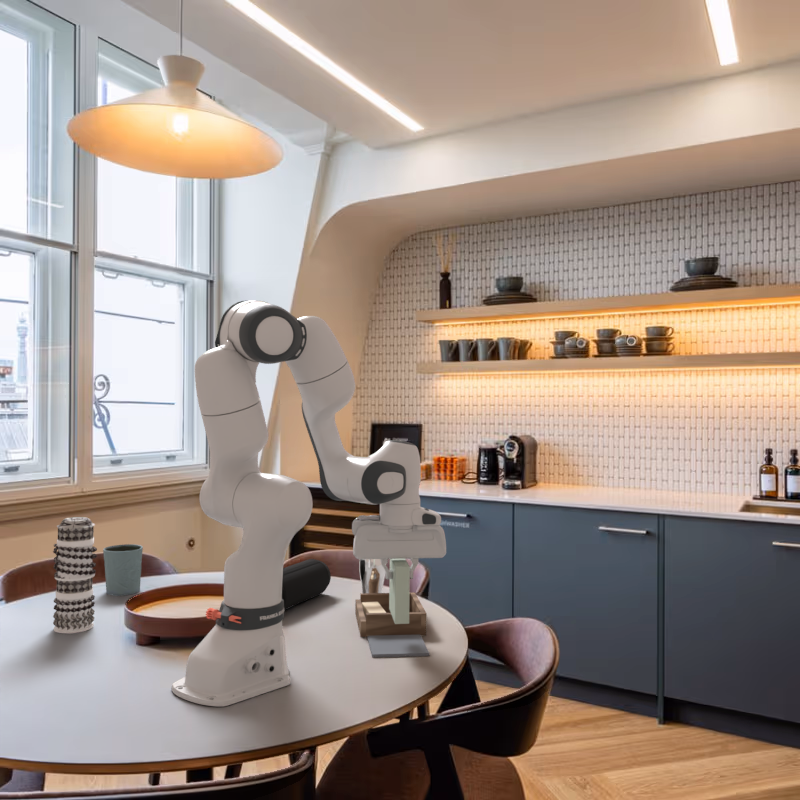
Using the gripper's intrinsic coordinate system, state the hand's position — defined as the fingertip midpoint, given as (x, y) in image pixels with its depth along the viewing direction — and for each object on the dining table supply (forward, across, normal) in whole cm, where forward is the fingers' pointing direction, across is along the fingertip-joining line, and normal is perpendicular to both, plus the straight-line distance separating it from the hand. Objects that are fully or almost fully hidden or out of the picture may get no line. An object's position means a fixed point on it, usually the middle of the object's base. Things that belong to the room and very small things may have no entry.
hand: (399, 578), depth 156 cm
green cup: (+15, -70, +49) cm, 87 cm away
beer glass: (+15, -3, +31) cm, 35 cm away
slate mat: (+15, 0, 0) cm, 15 cm away
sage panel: (+8, 0, 0) cm, 8 cm away
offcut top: (+13, -4, +16) cm, 21 cm away
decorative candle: (+14, -73, +18) cm, 76 cm away
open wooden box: (+15, 0, +16) cm, 22 cm away
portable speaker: (+15, -24, +34) cm, 44 cm away
